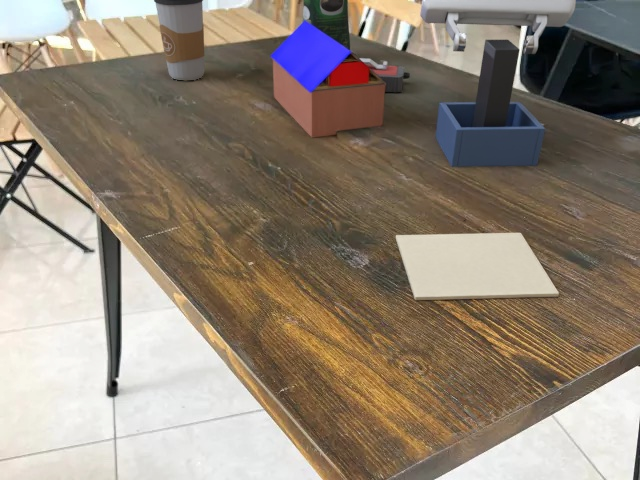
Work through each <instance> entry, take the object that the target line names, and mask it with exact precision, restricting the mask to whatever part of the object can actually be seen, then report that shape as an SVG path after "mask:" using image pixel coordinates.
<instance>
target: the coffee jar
mask: <svg viewBox="0 0 640 480" xmlns="http://www.w3.org/2000/svg"><path fill="white" fill-rule="evenodd" d="M302 7H303V8H302V9H303V10H302V23H303V22H304V21H306V22H308V23H309V24H311V25H312V26H314V27H315V28H317V29H318V30H320V31H321V32H323V33H324V34H326V35H327V36H329V37H330V38H332V39H333V40H335V41H336V42H338V43H339V44H341V45H342V46H344V47H345V48H347V49H348V50H350V51H351V37H350V25H349V24H350V23H349V8H348V7H349V0H303V6H302Z"/></svg>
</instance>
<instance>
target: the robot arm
mask: <svg viewBox="0 0 640 480" xmlns="http://www.w3.org/2000/svg"><path fill="white" fill-rule="evenodd" d="M576 1H577V0H421V5H420V18H421V19H422V20H423V21H424V23H426V24H445V31H446V32H447V34H448V36H449V37H450V39H451V40H452V52H465V50H466V47H467V33H464V32H461V31H460V30H459V28H458V25H482V26H483V25H484V26H485V25H486V26H512V27H513V26H515V27H516V26H517V27H518V26H519V27H532V33H534V34H532V35H531V34H530V35H526V37H525V40H524V42H523V48H524V49H523V54H524V55H525V54H526V55H536V53H537V51H538V50H539V49H538V48H539V39H540V38H541V36H542V34H543V33H544V31H545V29H546V27H547V28H548V27H551V28H552V27H553V28H554V27H555V28H562V27H564V26H565V25H566V24H567V23H568V22H569V20H570V19H571V17H572V16H573V15H574V12H575V9H576V5H577V4H576V3H577V2H576Z"/></svg>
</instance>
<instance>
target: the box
mask: <svg viewBox="0 0 640 480" xmlns="http://www.w3.org/2000/svg"><path fill="white" fill-rule="evenodd" d="M475 104H476V101H471V102H470V101H468V102H467V101H465V102H463V101H462V102H455V101H453V102H450V101H449V102H439V105H438V111H437V112H438V113H437V114H438V115H437V121H436V130H435V139H436V141H437V143H438V145H439V147H440V148H441V150H442V152H443V155H444V156H445V158H446V159H447V161H448V163H449V165H450V167H451V168H461V167H463V168H464V167H465V168H466V167H467V168H469V167H470V168H471V167H472V168H473V167H475V168H476V167H529V166H530V167H531V166H532V167H533V166H535V167H536V166H538V163H539V159H540V155H541V150H542V146H543V141H544V137H545V132H546V128H545V126H544V125H543V124H541V122H540V121H539V120H538V119H537V118H536V117H535V115H533V114H532V113H531V112H530V111H529V109H527V107H526V106H524V104H523V103H522V102H521V101H510V104H509V110H508V115H507V120H506V126H505V127H472V123H473V117H474V110H475Z"/></svg>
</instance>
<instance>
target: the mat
mask: <svg viewBox="0 0 640 480" xmlns="http://www.w3.org/2000/svg"><path fill="white" fill-rule="evenodd" d="M395 240H396V244H397V248H398V250H399V254H400V257H401V260H402V264H403V266H404V270H405V274H406V275H407V276H406V277H407V279H408V284H409V286H410V289H411V292H412V295H413V299H414V301H440V300H441V301H442V300H443V301H445V300H479V299H483V300H484V299H514V298H515V299H517V298H519V299H521V298H522V299H523V298H555V297H556V298H557V297H559V296H560V292H559V290H558V289H557V288H556V286H555V285H554V283H553V282H552V280H551V278H550V277H549V275H548V274H547V272H546V270H545V269H544V267H543V265H542V264H541V263H540V261H539V259H538V258H537V256H536V254H535V253H534V251H533V250H532V247H530V244H529V243H528V242H527V240H526V239H525V237H524V236H523V234H522V233H521V232H488V233H486V232H484V233H482V232H481V233H441V234H440V233H439V234H437V233H435V234H434V233H433V234H431V233H430V234H396V235H395Z"/></svg>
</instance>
